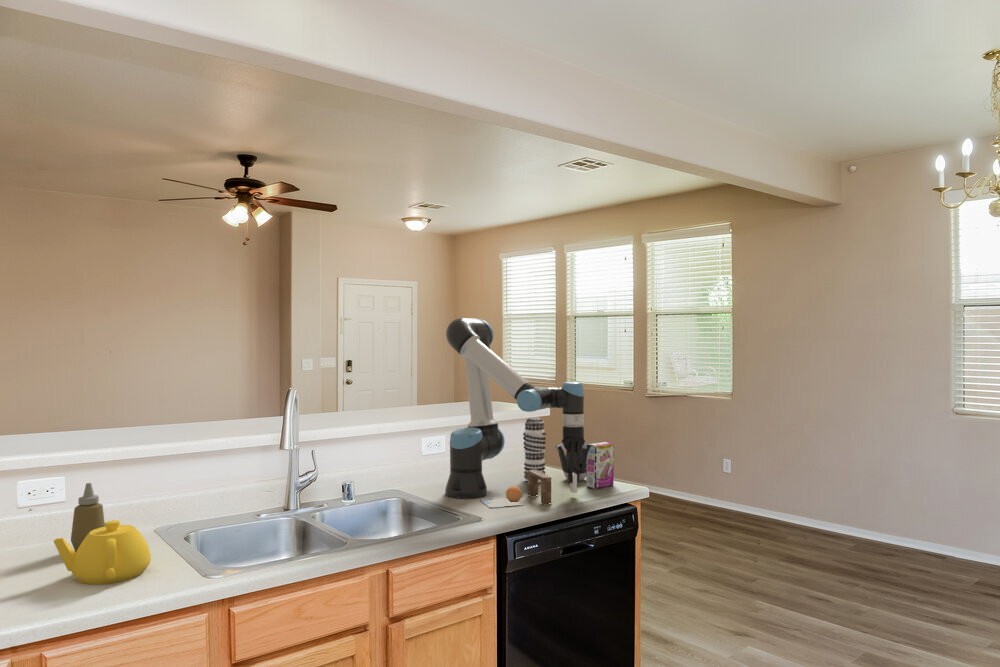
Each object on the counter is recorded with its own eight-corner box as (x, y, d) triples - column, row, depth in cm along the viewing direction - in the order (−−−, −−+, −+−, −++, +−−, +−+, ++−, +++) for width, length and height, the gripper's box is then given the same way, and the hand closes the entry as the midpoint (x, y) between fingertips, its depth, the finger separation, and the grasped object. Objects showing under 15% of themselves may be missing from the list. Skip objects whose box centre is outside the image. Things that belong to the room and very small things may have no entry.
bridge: (543, 505, 228) (543, 477, 228) (528, 495, 241) (528, 470, 242) (551, 504, 229) (551, 477, 229) (536, 495, 242) (536, 469, 243)
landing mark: (479, 500, 235) (479, 499, 235) (512, 497, 238) (512, 497, 238) (490, 508, 223) (490, 507, 223) (523, 505, 227) (523, 505, 227)
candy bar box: (596, 489, 251) (595, 445, 251) (585, 487, 255) (585, 444, 255) (614, 485, 259) (614, 442, 259) (604, 483, 262) (604, 441, 262)
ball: (521, 489, 236) (512, 503, 235) (509, 481, 234) (500, 495, 233) (527, 493, 230) (518, 507, 229) (515, 485, 229) (506, 498, 228)
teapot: (150, 559, 172) (150, 509, 173) (150, 582, 156) (151, 527, 156) (58, 572, 163) (58, 519, 163) (47, 598, 146) (47, 539, 147)
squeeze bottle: (66, 557, 174) (66, 487, 174) (76, 547, 182) (76, 481, 182) (101, 554, 177) (101, 485, 177) (109, 545, 184) (109, 479, 184)
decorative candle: (535, 477, 274) (535, 416, 274) (551, 481, 267) (550, 418, 267) (518, 480, 268) (518, 417, 269) (533, 484, 261) (533, 419, 261)
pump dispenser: (588, 477, 273) (587, 440, 274) (588, 482, 263) (588, 444, 263) (562, 477, 274) (562, 439, 275) (562, 482, 264) (562, 443, 264)
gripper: (560, 427, 234) (560, 495, 234) (594, 426, 238) (594, 492, 238) (552, 425, 241) (552, 490, 241) (585, 423, 245) (585, 488, 245)
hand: (573, 491), depth 239 cm, fingers closed
